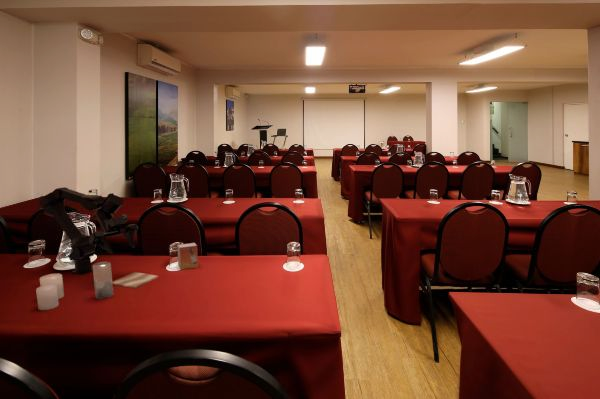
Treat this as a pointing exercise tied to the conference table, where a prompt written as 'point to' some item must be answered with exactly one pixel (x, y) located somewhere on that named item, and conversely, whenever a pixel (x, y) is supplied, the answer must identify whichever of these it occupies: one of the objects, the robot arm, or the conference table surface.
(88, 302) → the conference table surface
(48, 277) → the beige rounded block
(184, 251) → the small box
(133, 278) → the beige square tile
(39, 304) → the white squat cylinder
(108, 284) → the steel flask
